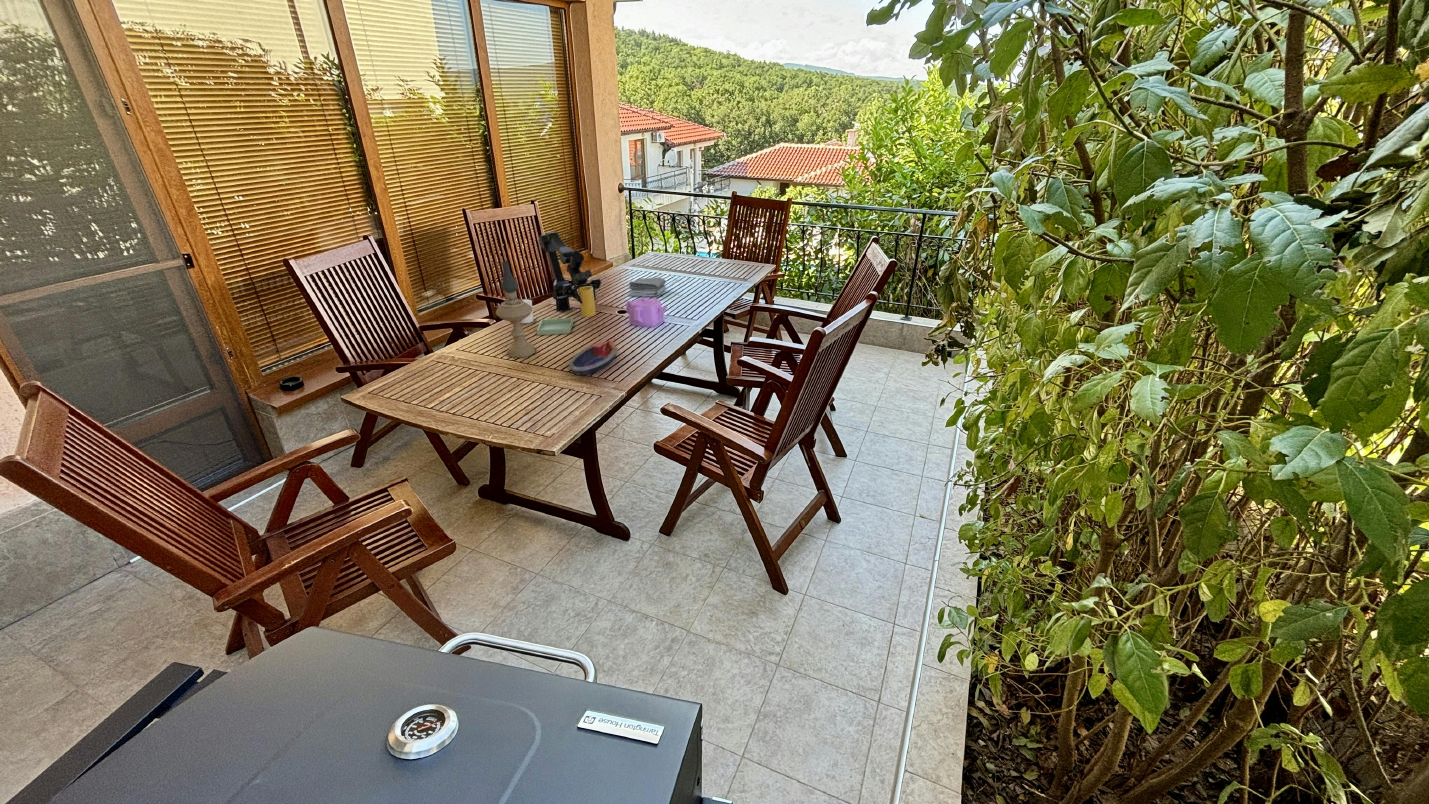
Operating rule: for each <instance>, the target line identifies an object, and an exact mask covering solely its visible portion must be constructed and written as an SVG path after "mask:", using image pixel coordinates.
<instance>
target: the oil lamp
mask: <svg viewBox="0 0 1429 804" xmlns="http://www.w3.org/2000/svg"><path fill="white" fill-rule="evenodd" d="M501 263H502V264H501V265H502V269H503V276H502V281H501V284H500V289H501V290H502V291H504V292H505V296H506V298H505V299H504V301H503V302H501V303H500V305H499V306H498V307H497V309H496V311H495V315H497V317H498V318H499V319H501V320H504V321H505V322H509V323H510V324H512V326H513V327H512V330H511V332H510V335H511V336H512V338H513V343H512V344H511V345H510V346H509V347H508V355H509V356H510V357H511V358H525V357H528V356H531V355H533V354H534V353H535V351H536V350H535V346H534V344H533V343H531V342H529V341H527V340H526V336H525V335H526V330H525V329H524V328H523V327H522V326H521V324H522V323H521V321H522V320H523V319H525V318H526V317H528V316H529V315H530V314H531V312H532V307H533V306H532V307H531V306H530V305H529V304H527V303H525V302H524V301H523V300H524V299H519V298H518V297H517V295H518V294H517V290H518V288H519V283H518V282H517V280H516V279H515V278H514V276H513V274H512V272H511V269H510V264H509V261H508V260H504V261H502V262H501Z"/></svg>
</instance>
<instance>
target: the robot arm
mask: <svg viewBox="0 0 1429 804" xmlns="http://www.w3.org/2000/svg"><path fill="white" fill-rule="evenodd" d="M538 242H539V245H540V247H541V248H542V250H543V251H544V252H545V253H546V255H547V259H548V262H549V266H550V269H551V272H552V276H553V279H554V282H553V286H552V287H553V290H552V293H551V296H552V299H553V300H555V307H556V308H554V310H556V311H559V312H567V311H569V310H572V309H573V307H572V306H571V305H570V298H573V299H574V300H575V301H577V302H578V303H580V305H581V304H582V300H581V298H580V295H579V291H578V290H579V288H580V287H584V286H591V287H593V293H594V301H595V302H596V301H597V297H596V290H599V289H600V287H601V285H602V280H601V279H600V278H594V279H593V278H592V279H591V281H590V282H589V280H588V279H590V278H591V277H592V276H593V274H592V273H593V272H592V271H591V269H586V270H585V271H582V270H581V268H582V266H583V263H584V260H585V256H584V255H583V254H582V253H581V252H579V251H578V250H574V249H573V248H570V247H568V246H567V244H565V242H564V241H563V240H562V238H561V237H560V235H559V233H558V231H551V232H548V233H546V234H540V236H539V237H538ZM557 252H558V254H559V257H558V254H557ZM560 262H561V263H562V264H563V265H567V266H566V272H567V273H568V274H569V276H570V278H571V279H570V281H571V283H570V282H569V280H567V279H565V278H564V275H563V271H562V268H561V264H560ZM572 283H573V284H572Z"/></svg>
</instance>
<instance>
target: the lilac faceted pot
mask: <svg viewBox="0 0 1429 804" xmlns="http://www.w3.org/2000/svg"><path fill="white" fill-rule="evenodd" d="M661 302H662V301H661V300H660V299H657V298H654V297H652V298H649V297H641V298H638V299H636V300H627V301H626V302H625V304H626V305H625V306H626V307H625V311H626V313H627V315H628V319H629V320H628V321H629V323H630V325H631V326H637V327H644V328H655V327H657V326H658V325H659V324H661V323H662V322H663V321H664V316H665V313H666V311H667V309H668V306H667V305H662V303H661Z"/></svg>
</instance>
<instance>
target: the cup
mask: <svg viewBox="0 0 1429 804" xmlns="http://www.w3.org/2000/svg"><path fill="white" fill-rule="evenodd" d="M578 294H579V296H580V298H581V300H582V304H581V303H580V311H581V317H588V318H589V317H594V316H596V315H597V311H596V300H595V301H594V293H593V287H591V286H584V287H580V288H579V289H578Z"/></svg>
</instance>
